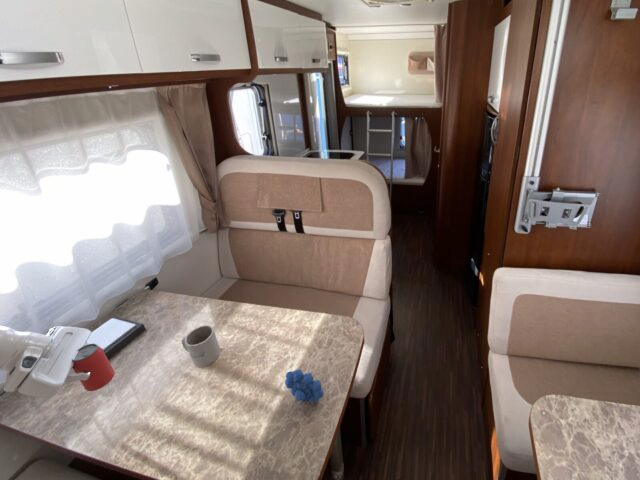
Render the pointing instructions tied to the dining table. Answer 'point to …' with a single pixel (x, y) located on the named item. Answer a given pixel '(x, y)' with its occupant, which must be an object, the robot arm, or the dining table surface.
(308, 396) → the grapes
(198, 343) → the mug
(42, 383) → the robot arm
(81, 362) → the beer can
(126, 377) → the dining table surface
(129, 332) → the scale
